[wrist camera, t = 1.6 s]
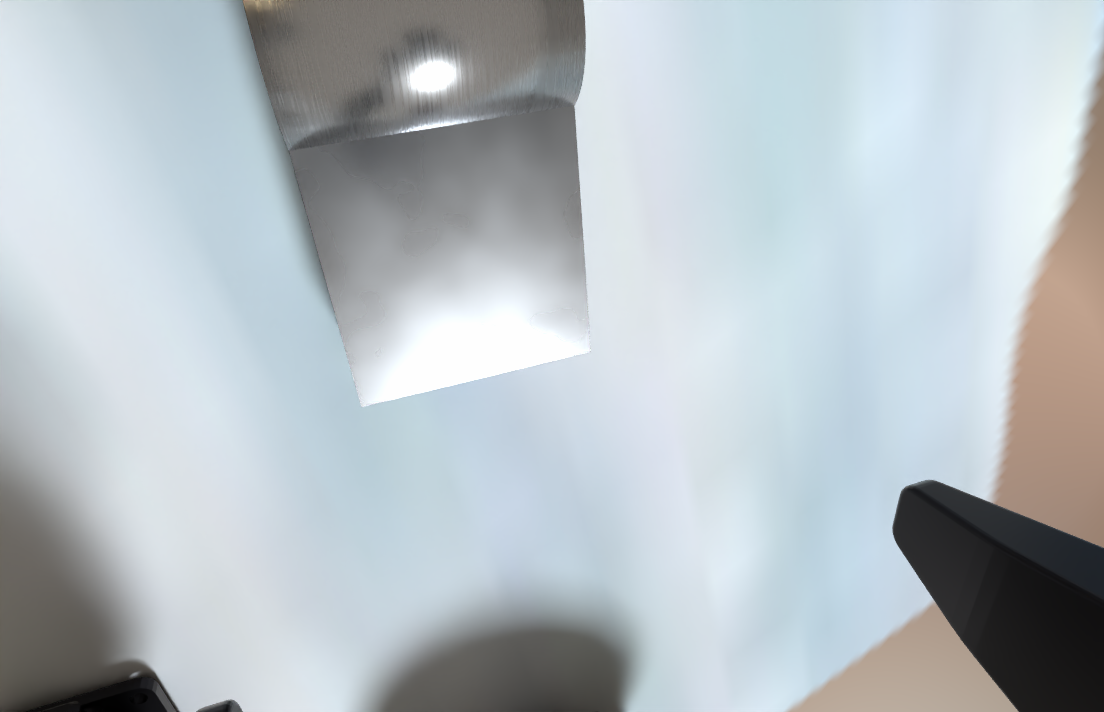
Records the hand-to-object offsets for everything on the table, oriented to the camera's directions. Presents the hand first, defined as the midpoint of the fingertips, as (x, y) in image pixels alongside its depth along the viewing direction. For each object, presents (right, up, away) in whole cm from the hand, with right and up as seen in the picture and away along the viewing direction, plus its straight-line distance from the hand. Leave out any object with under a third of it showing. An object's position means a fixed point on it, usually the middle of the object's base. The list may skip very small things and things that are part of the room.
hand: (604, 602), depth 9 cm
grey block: (-4, +8, +9) cm, 13 cm away
